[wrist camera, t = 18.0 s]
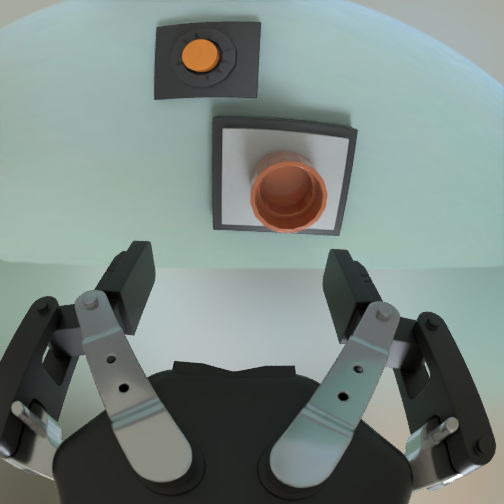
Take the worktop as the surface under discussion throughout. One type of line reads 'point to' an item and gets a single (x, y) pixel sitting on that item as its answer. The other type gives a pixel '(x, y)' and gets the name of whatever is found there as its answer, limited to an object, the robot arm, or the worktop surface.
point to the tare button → (200, 55)
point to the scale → (270, 141)
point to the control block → (218, 78)
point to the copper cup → (287, 192)
